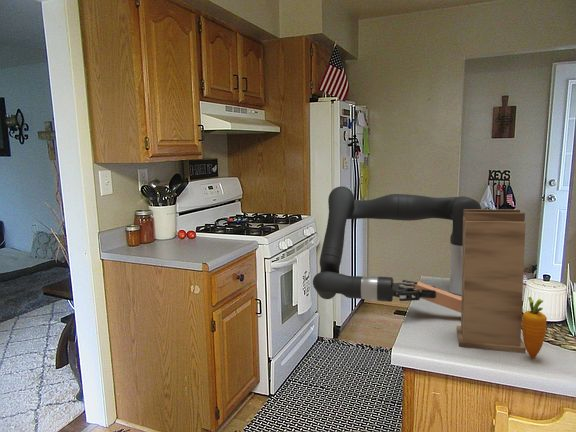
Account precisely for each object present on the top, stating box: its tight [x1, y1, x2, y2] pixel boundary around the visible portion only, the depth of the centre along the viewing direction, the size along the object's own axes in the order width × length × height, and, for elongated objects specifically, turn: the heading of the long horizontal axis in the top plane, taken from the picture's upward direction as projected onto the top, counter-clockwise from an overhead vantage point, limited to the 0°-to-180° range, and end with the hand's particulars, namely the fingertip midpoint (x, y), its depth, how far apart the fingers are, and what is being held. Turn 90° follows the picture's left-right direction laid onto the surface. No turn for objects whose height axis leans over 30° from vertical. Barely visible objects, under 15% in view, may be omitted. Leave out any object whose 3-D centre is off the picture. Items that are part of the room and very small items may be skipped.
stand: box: [456, 208, 527, 354], centre depth 109 cm, size 11×15×34 cm
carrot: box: [521, 296, 547, 359], centre depth 100 cm, size 5×5×15 cm
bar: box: [414, 281, 462, 314], centre depth 126 cm, size 4×22×4 cm, turn 72°
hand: (435, 292), depth 128 cm, fingers closed on bar, 3 cm apart
